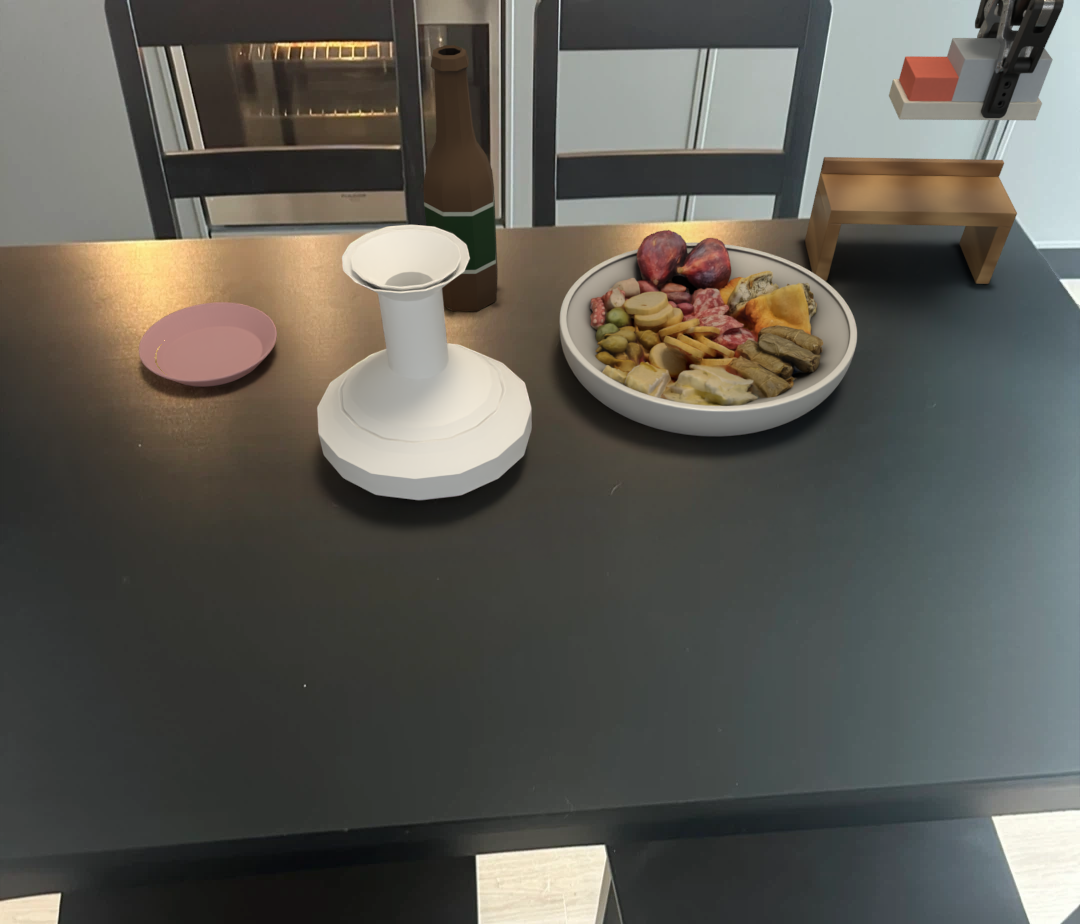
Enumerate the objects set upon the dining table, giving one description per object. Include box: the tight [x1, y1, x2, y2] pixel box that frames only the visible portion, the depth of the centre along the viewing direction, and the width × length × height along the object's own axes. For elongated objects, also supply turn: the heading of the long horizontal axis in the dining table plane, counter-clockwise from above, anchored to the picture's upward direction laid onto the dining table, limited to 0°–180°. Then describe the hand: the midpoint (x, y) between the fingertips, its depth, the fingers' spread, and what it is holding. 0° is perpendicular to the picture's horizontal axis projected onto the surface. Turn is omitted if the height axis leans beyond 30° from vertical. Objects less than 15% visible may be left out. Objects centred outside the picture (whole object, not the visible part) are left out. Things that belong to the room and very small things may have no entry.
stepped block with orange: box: [888, 37, 1054, 121], centre depth 89 cm, size 13×5×5 cm, turn 89°
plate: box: [138, 301, 278, 387], centre depth 99 cm, size 14×14×2 cm
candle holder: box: [316, 224, 533, 501], centre depth 82 cm, size 20×20×19 cm
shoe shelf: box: [804, 156, 1018, 285], centre depth 106 cm, size 20×9×10 cm, turn 87°
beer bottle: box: [423, 44, 498, 312], centre depth 97 cm, size 8×8×24 cm
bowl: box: [559, 229, 858, 437], centre depth 96 cm, size 30×30×8 cm
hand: (984, 102), depth 90 cm, fingers closed on stepped block with orange, 5 cm apart
